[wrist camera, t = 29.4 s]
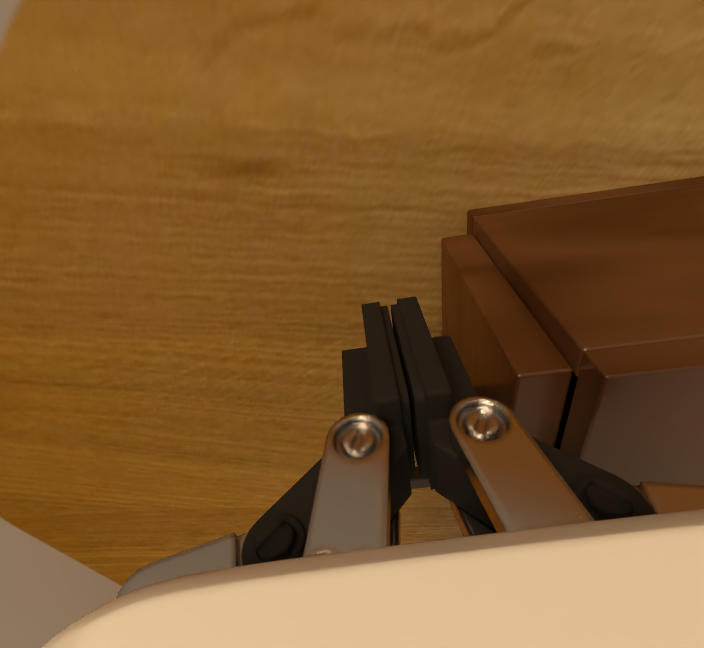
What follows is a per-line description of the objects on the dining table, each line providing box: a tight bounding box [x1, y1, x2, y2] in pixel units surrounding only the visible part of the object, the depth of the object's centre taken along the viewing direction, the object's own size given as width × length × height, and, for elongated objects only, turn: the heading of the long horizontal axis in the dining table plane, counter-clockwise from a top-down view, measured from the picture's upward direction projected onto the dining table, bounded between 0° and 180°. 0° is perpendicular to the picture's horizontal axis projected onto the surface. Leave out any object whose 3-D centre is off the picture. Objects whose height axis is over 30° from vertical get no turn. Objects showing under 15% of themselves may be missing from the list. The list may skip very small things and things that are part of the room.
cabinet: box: [467, 176, 704, 486], centre depth 14 cm, size 15×13×10 cm
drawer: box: [410, 234, 573, 489], centre depth 14 cm, size 18×11×8 cm, turn 98°
